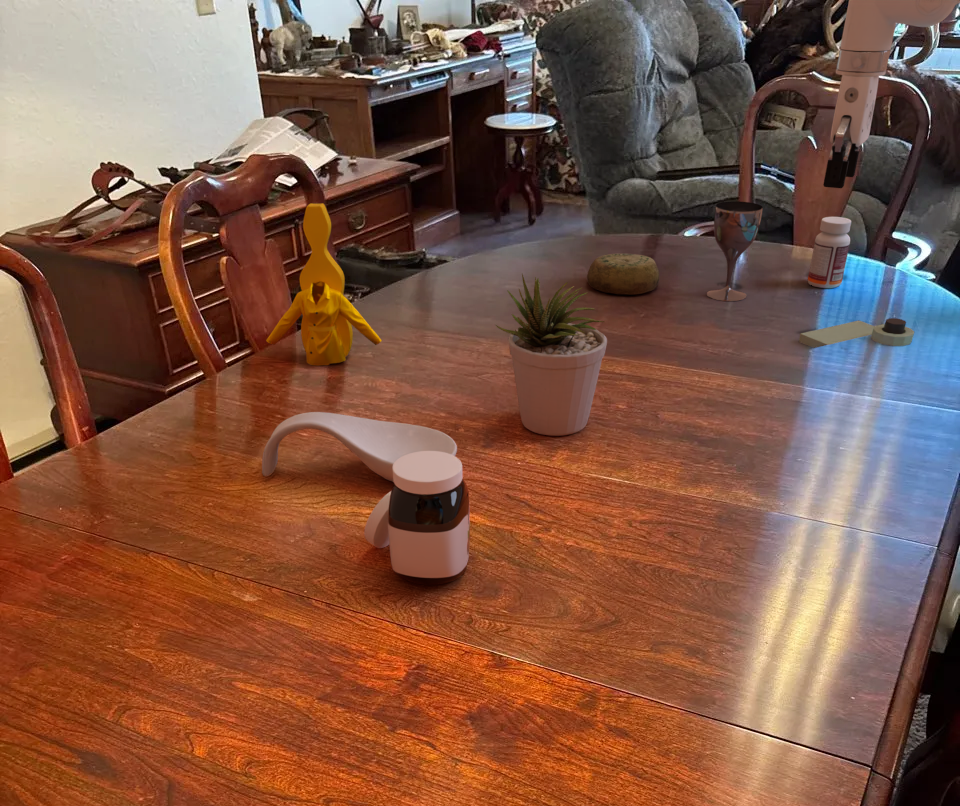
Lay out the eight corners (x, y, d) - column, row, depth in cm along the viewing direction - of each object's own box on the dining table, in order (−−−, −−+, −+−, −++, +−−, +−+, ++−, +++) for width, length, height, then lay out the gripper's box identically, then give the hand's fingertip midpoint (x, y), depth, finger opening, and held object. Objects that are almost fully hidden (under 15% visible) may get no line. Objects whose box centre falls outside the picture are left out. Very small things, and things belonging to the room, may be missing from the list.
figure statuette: (266, 367, 146) (244, 213, 133) (277, 349, 152) (257, 201, 139) (381, 368, 145) (370, 214, 132) (388, 350, 152) (378, 201, 139)
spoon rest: (459, 452, 122) (458, 398, 117) (455, 495, 112) (454, 439, 108) (275, 451, 122) (267, 398, 118) (255, 494, 113) (246, 438, 108)
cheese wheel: (619, 271, 186) (621, 244, 183) (674, 286, 178) (677, 258, 175) (571, 285, 179) (573, 258, 176) (626, 301, 171) (629, 273, 168)
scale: (856, 328, 158) (861, 310, 156) (917, 351, 149) (922, 332, 148) (798, 342, 153) (801, 323, 151) (857, 366, 144) (861, 346, 143)
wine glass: (704, 287, 177) (715, 200, 168) (748, 289, 176) (762, 202, 167) (703, 300, 171) (715, 210, 162) (749, 302, 170) (763, 212, 161)
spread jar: (458, 597, 95) (456, 492, 88) (349, 587, 96) (338, 483, 90) (480, 537, 104) (478, 438, 97) (379, 528, 106) (371, 431, 99)
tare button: (892, 328, 150) (895, 316, 149) (907, 333, 148) (910, 322, 147) (878, 331, 149) (881, 320, 148) (893, 336, 147) (896, 325, 146)
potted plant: (522, 398, 136) (525, 251, 124) (614, 414, 131) (626, 263, 119) (483, 431, 126) (482, 276, 115) (581, 450, 122) (590, 290, 110)
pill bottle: (839, 280, 180) (852, 216, 173) (842, 290, 175) (856, 224, 169) (805, 278, 181) (817, 215, 174) (808, 288, 176) (820, 223, 169)
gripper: (878, 70, 142) (852, 194, 153) (895, 58, 155) (870, 174, 165) (827, 68, 145) (805, 189, 155) (847, 57, 157) (826, 170, 168)
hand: (838, 181), depth 160 cm, fingers open, 9 cm apart
